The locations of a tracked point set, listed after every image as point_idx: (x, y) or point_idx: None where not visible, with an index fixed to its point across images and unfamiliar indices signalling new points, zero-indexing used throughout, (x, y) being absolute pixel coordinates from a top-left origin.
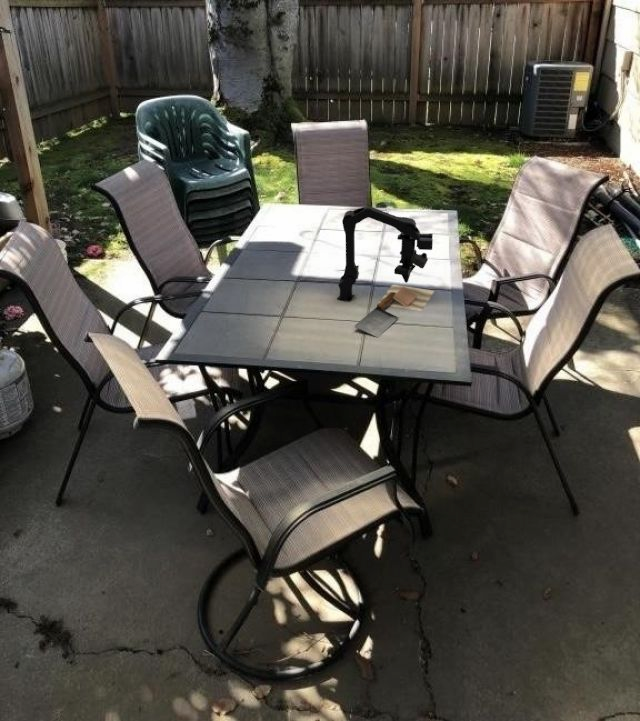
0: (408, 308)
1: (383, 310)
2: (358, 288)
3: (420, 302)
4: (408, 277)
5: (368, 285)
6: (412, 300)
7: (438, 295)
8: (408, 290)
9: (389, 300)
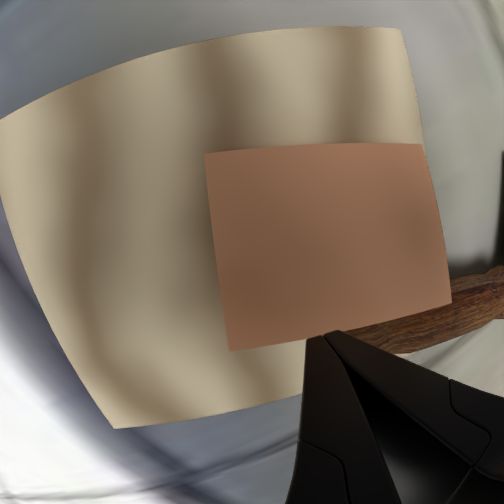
0: (415, 136)
1: None
2: (258, 491)
3: (263, 87)
4: (404, 376)
5: (200, 485)
6: (337, 144)
7: (18, 74)
8: (232, 271)
9: (463, 295)
